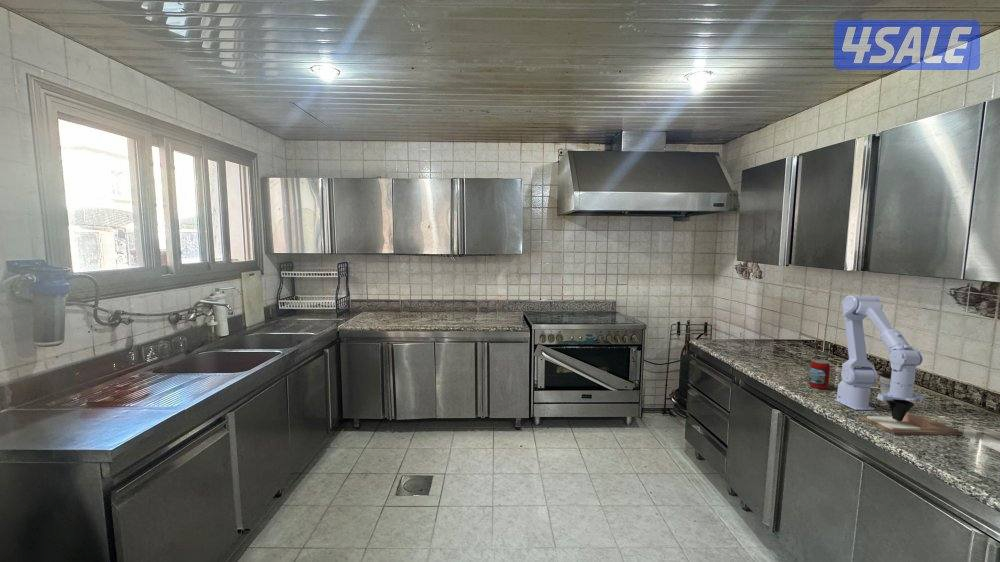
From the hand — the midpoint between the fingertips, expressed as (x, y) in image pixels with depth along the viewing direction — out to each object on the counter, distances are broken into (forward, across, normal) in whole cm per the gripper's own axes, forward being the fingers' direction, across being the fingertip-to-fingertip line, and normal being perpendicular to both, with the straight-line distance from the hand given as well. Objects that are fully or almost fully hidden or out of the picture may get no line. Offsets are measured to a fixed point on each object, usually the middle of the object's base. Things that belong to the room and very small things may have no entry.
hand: (897, 419), depth 138 cm
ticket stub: (+1, +7, 0) cm, 8 cm away
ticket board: (+2, +5, 0) cm, 5 cm away
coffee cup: (+3, +26, +27) cm, 37 cm away
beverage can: (+3, +4, +37) cm, 37 cm away
